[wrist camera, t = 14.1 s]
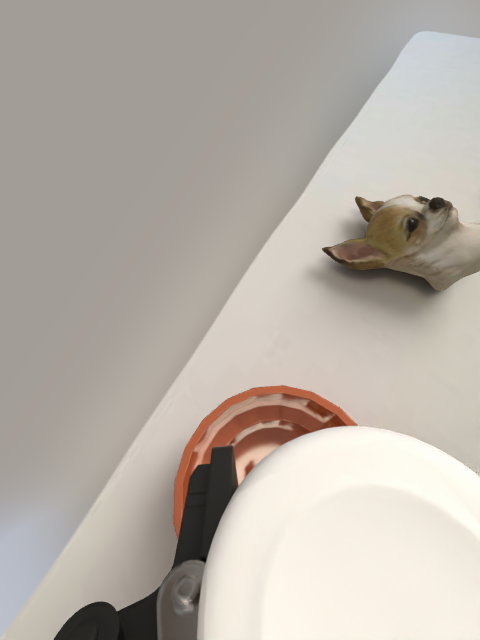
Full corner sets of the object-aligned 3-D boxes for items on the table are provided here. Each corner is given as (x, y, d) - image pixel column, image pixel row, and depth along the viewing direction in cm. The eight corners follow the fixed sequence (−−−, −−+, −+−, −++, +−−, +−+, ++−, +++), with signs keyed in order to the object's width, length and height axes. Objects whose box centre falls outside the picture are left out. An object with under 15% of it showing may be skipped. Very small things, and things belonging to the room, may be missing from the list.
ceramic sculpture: (516, 271, 21) (326, 210, 27) (454, 326, 29) (316, 270, 34) (542, 185, 25) (371, 146, 30) (481, 253, 33) (352, 213, 38)
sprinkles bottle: (241, 552, 14) (140, 987, 2) (249, 451, 16) (216, 406, 4) (336, 566, 14) (824, 1196, 2) (332, 460, 16) (552, 436, 4)
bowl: (280, 370, 28) (283, 350, 24) (404, 501, 23) (442, 511, 18) (159, 475, 25) (134, 477, 20) (271, 659, 20) (275, 723, 15)
